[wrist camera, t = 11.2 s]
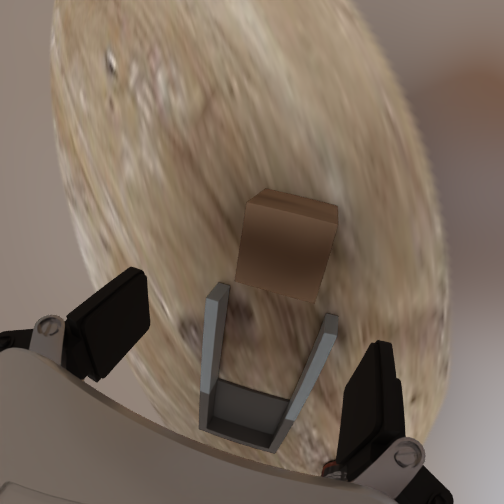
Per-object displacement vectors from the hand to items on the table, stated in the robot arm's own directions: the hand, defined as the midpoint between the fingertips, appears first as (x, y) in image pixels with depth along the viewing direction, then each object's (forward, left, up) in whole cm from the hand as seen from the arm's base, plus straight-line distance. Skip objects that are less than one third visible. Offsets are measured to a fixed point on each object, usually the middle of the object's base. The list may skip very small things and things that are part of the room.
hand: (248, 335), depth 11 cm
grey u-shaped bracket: (-15, 0, -11) cm, 18 cm away
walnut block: (+1, 0, -11) cm, 11 cm away
